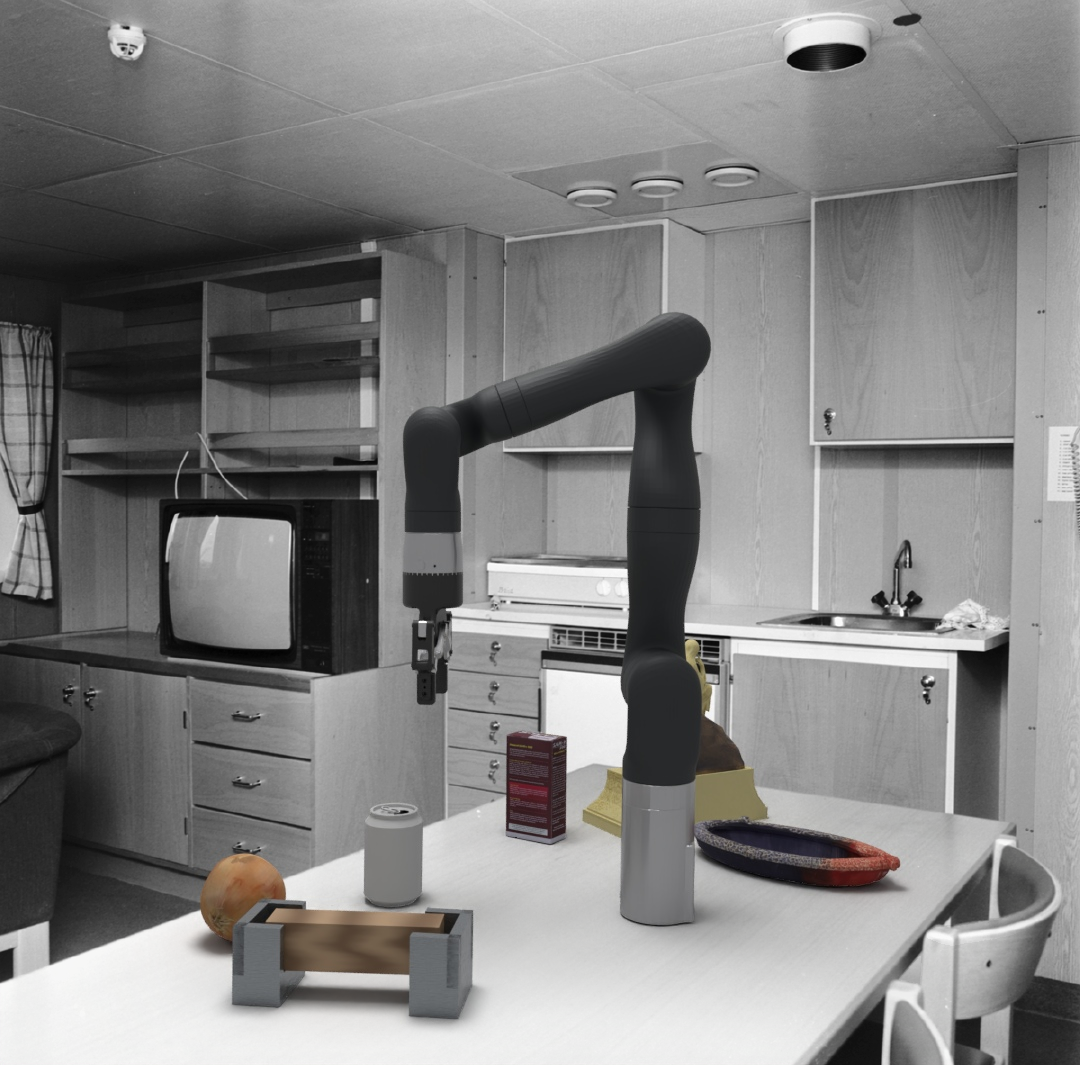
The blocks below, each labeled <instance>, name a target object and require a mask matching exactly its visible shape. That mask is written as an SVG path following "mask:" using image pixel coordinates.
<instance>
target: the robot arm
mask: <svg viewBox="0 0 1080 1065" xmlns="http://www.w3.org/2000/svg"><path fill="white" fill-rule="evenodd" d="M711 345H712V340H711V337H710V335H709V332H708V329H707V328H706V327H705V326H704V324H703V323H702V322H700V320H698V319H697V318H696V317H693V316H692V315H690V314H687V313H684V312H677V311H672V312H671V311H670V312H664V313H660V314H658V315H656V316H654V317H652V318H651V319H649V321H647V322H646V323H645V324H643V325H641V326H639V327H638V328H636V329H634V330H633V331H631V332H629V333H627V334H626V335H624V336H622V337H620V338H618V339H616V340H614V341H612V342H609V343H608V344H605V345H603V346H601V347H599V348H597V349H594V350H591V351H589V352H586V353H583V354H580V355H579V356H575V357H573V358H569V359H567V360H563V361H560V362H557V363H555V364H551V365H548V366H545V367H542V368H538V369H535V370H531V371H529V372H526V373H523V374H521V375H516V376H515V377H512V378H508V379H506V380H502V381H501V382H497V383H495V384H492V385H490V386H487V387H485V388H483V389H481V390H478V392H476V393H474V394H473V395H472V396H470V397H467V398H463V399H460V400H458V401H455V402H452V403H450V404H446V405H443V406H440V407H439V406H432V405H431V406H423V407H421V408H418V409H417V410H415V411H414V412H413V413H412V414H411V415H410V416H409V418H407V420H406V421H405V424H404V426H403V432H402V451H403V452H402V454H403V456H402V457H403V469H404V479H405V480H404V481H405V497H404V498H405V500H404V501H405V502H404V537H403V545H402V605H403V606H404V607H405V608H409V609H418V611H419V614H418V620H417V619H413V620H412V623H411V633H412V634H411V637H412V638H411V663H410V667H411V670H412V671H414V673H415V674H416V703H417V704H418V705H420V706H433V705H434V704H435V703H436V701H437V695H438V694H441V695H442V694H443V695H444V694H446V693H447V692H448V691H449V690H448V689H449V663H450V661H451V657H452V655H453V653H454V651H453V634H452V633H453V628H452V626H453V624H452V623H453V622H452V620H453V613H452V611H451V610H447V609H455V608H456V609H457V608H460V607H461V606H462V605H463V604H464V549H463V541H462V502H461V495H460V491H459V480H460V479H459V478H460V475H459V474H460V459H461V458H462V457H464V456H467V455H469V454H471V453H475V452H476V451H478V450H480V449H482V448H485V447H487V446H489V445H491V444H492V445H493V444H496V443H501V442H504V441H508V440H511V439H513V438H516V437H519V436H523V435H525V434H528V433H530V432H533V431H536V430H539V429H542V428H544V427H547V426H549V425H552V424H554V423H557V422H559V421H561V420H563V419H565V418H567V417H569V416H572V415H574V414H576V413H578V412H581V411H583V410H584V409H587V408H589V407H591V406H594V405H597V404H599V403H601V402H604V401H606V400H609V399H613V398H615V397H618V396H621V395H624V394H629V393H631V392H633V398H634V399H633V402H634V420H635V421H634V437H633V439H634V440H633V446H632V447H633V448H632V455H631V462H630V468H629V471H630V472H629V482H628V483H629V484H628V493H627V494H628V496H627V515H626V517H627V518H626V559H627V560H626V564H627V565H626V569H627V573H626V574H627V589H628V620H627V627H626V628H627V629H626V637H625V646H624V654H623V658H622V665H621V671H620V672H621V674H620V691H621V695H622V698H623V700H624V702H625V703H626V705H627V715H626V716H627V719H626V720H627V723H626V745H625V750H624V754H623V755H622V762H621V764H622V766H621V767H622V817H621V838H620V876H619V877H620V885H619V887H620V889H619V911H620V912H619V913H620V914H621V916H623V917H624V918H626V919H628V920H631V921H633V922H637V923H641V924H645V925H658V926H669V925H670V926H671V925H676V924H682V923H694V921H695V920H694V919H695V918H694V917H695V916H694V915H695V914H694V913H695V912H694V910H695V871H696V870H695V863H696V860H695V859H696V858H695V856H696V855H695V853H696V845H695V836H694V830H695V778H696V765H697V762H698V758H699V754H700V739H701V717H702V690H701V683H700V679H699V676H698V674H697V672H696V671H695V669H694V668H693V667H692V665H691V664H690V663H688V662H687V661H686V650H685V642H686V636H685V635H686V632H685V616H686V605H687V601H688V596H689V592H690V588H691V584H692V580H693V577H694V573H695V569H696V564H697V559H698V556H699V549H700V547H699V546H700V541H701V540H700V539H701V538H700V537H701V507H702V506H701V504H702V503H701V502H702V499H701V488H700V487H701V485H700V478H699V477H700V476H699V472H698V471H699V470H698V464H697V460H696V459H697V458H696V453H695V447H694V443H693V442H694V441H693V429H692V428H693V426H692V424H693V423H692V422H693V412H694V411H693V409H694V400H695V399H694V398H695V390H696V386H697V380H698V379H697V378H698V377H699V376H700V375H701V374H703V371H704V370H705V369H706V367H707V366H708V362H709V360H710V357H711V352H712V346H711ZM425 659H426V660H425Z"/></svg>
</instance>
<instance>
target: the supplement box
mask: <svg viewBox="0 0 1080 1065" xmlns="http://www.w3.org/2000/svg"><path fill="white" fill-rule="evenodd" d="M505 737H506V747H505V748H506V756H505V757H506V761H505V762H506V763H505V764H506V766H505V767H506V768H505V775H506V776H505V779H506V780H505V784H506V785H505V787H506V788H505V791H506V792H505V796H506V797H505V836H507V837H510V838H515V837H517V838H516V839H521V840H526V841H532V842H538V843H543V844H547V845H552V844H555V843H557V842H558V843H559V841H562V840H564V839H566V836H567V778H568V777H567V774H568V773H567V768H568V767H567V765H568V764H567V760H568V758H567V756H568V752H567V750H568V748H567V747H568V737H567V736H565V735H557V734H552V733H551V734H549V733H543V732H542V733H541V732H533V731H527V730H518V731H515V732H511V733H509V734H506V736H505Z"/></svg>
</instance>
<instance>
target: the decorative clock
mask: <svg viewBox="0 0 1080 1065" xmlns="http://www.w3.org/2000/svg"><path fill="white" fill-rule="evenodd" d="M685 650H686V661H687V662H688V663H690V664H691V665H692V667H693V668H694V669H695V671H696V672H697V674H698V676H699V679H700V683H701V690H702V717H701V739H700V754H699V758H698V762H697V765H696V778H695V824H697V823H698V822H702V821H707V820H730V819H739V818H740V817H742V816H747V817H749V818H750V820H753V821H761V820H766V819H768V806H767V805H766V804H765V802H763V800H762V799H761V798H760V796H759V794H758V791H757V790H756V786H755V778H754V772H755V771H754V770H755V768H754V767H750V766H747V765H746V763H745V761H744V760H743V758H742V757H743V756H742V754H741V751H740V749H739V747H738V746H737V745H736V744H735V742H734V741H733V739H731V737H729V735H728V734H726V732H725V730H724V728H723V726H721V725H719V724H718V723H716V722H715V721H714V720H712V719H710V718H708V717H707V716H706V712H710V708H711V702H712V700H711V699H712V696H713V686H712V684H710V683H707V675H706V669H705V665H704V662H703V660H702V659H701V657H700V655H699V651H700V645H699V642H698V641H696V640H695V639H693V638H690V639H688V640H685ZM696 657H697V658H696ZM697 664H698V665H697ZM698 666H699V667H698ZM699 668H700V670H699ZM606 771H607V772H606V782H605V785H604V788H603V790H602V791H601V792H600V794H599V796H598V797H597V798H595V800H593V801H592V802H591V803H590V804H589V805H587V806H586V808H582V822H583V823H586V824H589V825H591V826H593V827H595V828H597V829H599V830H601V831H604V832H606V833H608V834H610V835H613V836H614V837H617V838H619V839H621V817H622V766H621V767H613V768H612V767H611V768H606Z"/></svg>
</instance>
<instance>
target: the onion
mask: <svg viewBox="0 0 1080 1065" xmlns="http://www.w3.org/2000/svg"><path fill="white" fill-rule="evenodd" d="M286 890H287V889H286V885H285V882H284V879H283V877H282V876H281V874H280V872H279V870H278V869H277V868H276V867H275V866H274V865H272V864H271V863H270V862H269V861H268V860H266V859H264V858H263V857H261V856H258V855H255V854H252V853H238V854H234V855H229V856H226V857H224V858H222V859H220V860H219V861H218V862H217V863H216V864H215V866H214V867H213V868H212V870H211V871H210V873H209V874H208V876H207V878H206V880H205V882H204V884H203V887H202V890H201V894H200V899H199V900H200V902H199V903H200V905H199V907H200V913H201V916H202V919H203V921H204V923H205V925H207V927H208V928H209V929H210V930H211V931H213V933H215V934H216V935H217V936H218V937H220V938H222V939H225V940H226V941H229V942H233V926H234V925H235V924H236V923H237V922H238V921H239V920H240V919H241V918H242V917H243V916H244V915H245V914H246V913H247V912H248V911H249V910H250V909H251V908H252V907H253V906H254V905H255V904H257V903H258V902H259V901H260V900H261V899H278V900H287V891H286Z"/></svg>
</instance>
